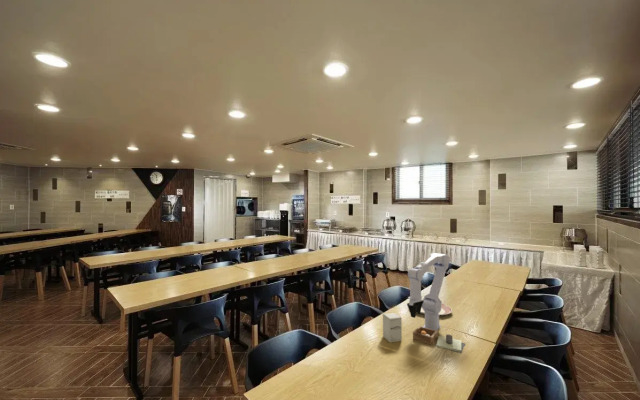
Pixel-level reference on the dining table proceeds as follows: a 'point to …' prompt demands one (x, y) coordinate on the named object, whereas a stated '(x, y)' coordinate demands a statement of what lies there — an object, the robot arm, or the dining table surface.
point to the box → (425, 338)
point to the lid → (449, 343)
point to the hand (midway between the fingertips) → (415, 315)
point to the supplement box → (392, 327)
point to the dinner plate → (444, 310)
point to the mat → (454, 350)
